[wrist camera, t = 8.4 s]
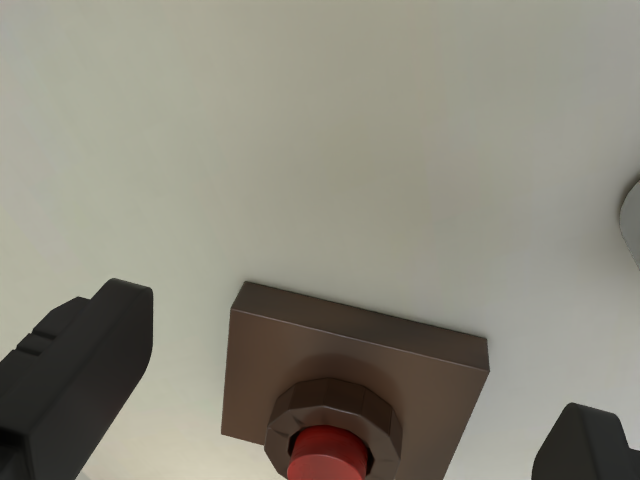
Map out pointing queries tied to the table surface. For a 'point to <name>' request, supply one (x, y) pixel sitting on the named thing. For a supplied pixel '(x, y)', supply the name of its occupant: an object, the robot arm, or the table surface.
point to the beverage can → (632, 222)
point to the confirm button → (328, 455)
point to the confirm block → (349, 381)
